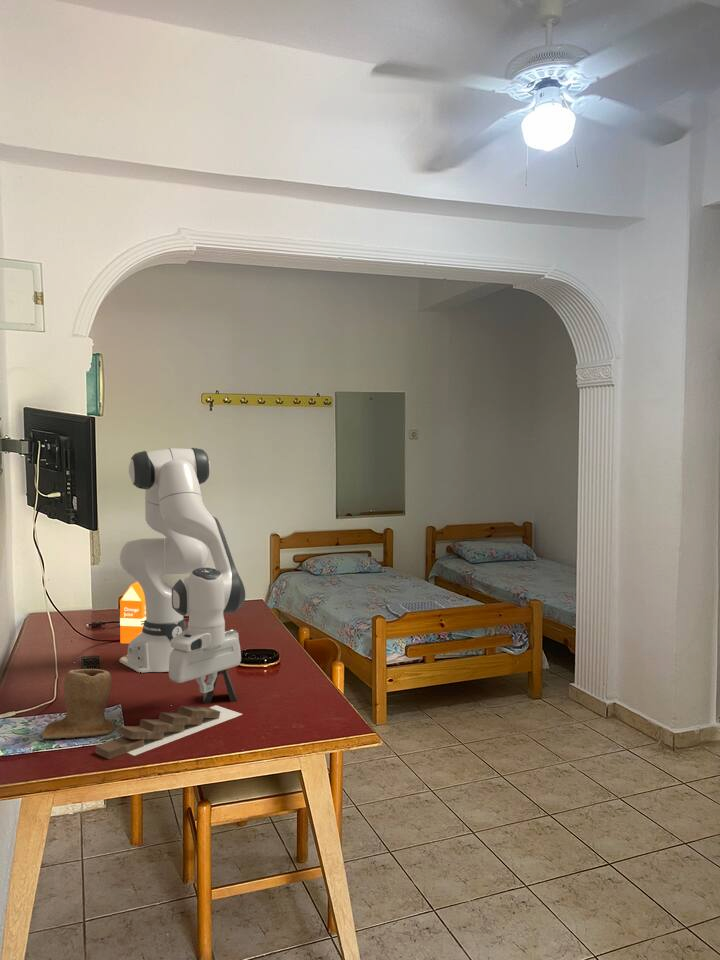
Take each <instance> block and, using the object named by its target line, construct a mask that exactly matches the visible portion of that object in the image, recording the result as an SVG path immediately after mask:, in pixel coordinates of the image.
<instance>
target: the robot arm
mask: <svg viewBox="0 0 720 960" xmlns="http://www.w3.org/2000/svg"><path fill="white" fill-rule="evenodd" d="M209 458H210V457H209V456H208V453H207V452H206V451H205V450H204V449H202V448H197V447H191V448H182V447H181V448H180V447H171V448H166V449H164V448H163V449H156V450H150V451H146V450H143V451H138V452H136V453H134V454H133V455H132V457H131V458H130V462H129V465H128V474H129V476H128V477H129V479H130V480H131V482H132V485H134V486H135V487H136V488H137V489H141V490H145V491H144V508H145V510H144V511H145V512H144V513H145V514H144V516H145V518H144V520H145V521H146V524H147V526H149V528H151V529H152V530H153V531H155V532H157V533H159V534H162V535H163V536H164V537H165V538H164V537H163V538H160V537H159V538H157V537H156V538H139V539H133V540H130V541H127V542H126V543H125V544H123V546H122V548H121V550H120V554H119V561H120V565H121V567H122V569H123V570H124V571H125V573H127V574H128V575H130V576H131V577H133V579H135V581H136V582H138V583H139V584H140V586H141V588H142V590H143V593H144V597H145V605H146V620H144V621H141V622H144V623H142V624H141V625H143V624H144V625H143V629H142V632H141V633H140V634H139V635H138V636H136V637H135V638H134V639H133V640H131V641H130V643H129V644H128V646H127V655H123V656H122V657H120V658H119V663H121V664H123V665H124V666H126V667H127V668H128V667H129V668H130V669H132V670H134V671H136V672H137V673H140V672H141V673H142V674H143V673H163V672H164V673H165V672H168V677H169V679H170V680H171V681H172V682H174V683H178V684H182V683H185V682H189V681H192V680H196V681H195V682H197V684H198V686H199V693H201V694H204V693H206V692H209V691H212V690H213V684H214V682H215V680H216V677H217V672H218V671H221V670H225V669H226V670H228V669H230V668H234V667H238V666H239V665H240V663H241V662H242V652H241V645H240V640H239V639H240V637H239V636H240V635H239V632H238V631H237V630H235V629H233V628H231V629H228V630H226V620H225V616H224V614H234V613H236V612H237V611H238V610H239V609H241V607H242V606H243V604H244V603H245V600H246V588H245V586H244V583H243V580H242V578H241V577H240V575H239V572H238V570H237V568H236V565H235V562H234V559H233V555H232V553H231V550H230V548H229V547H230V546H229V544H228V542H227V539H226V535H225V533H224V531H223V528H222V526H221V523H220V521H219V520H218V518H217V517H215V516H214V515H212V514H211V513H210V512H209V511H208V509H207V508H206V506H205V504H204V499H203V495H202V490H201V486H200V485H201V484H204V483H205V482H206V481H208V479H209V477H210V473H211V462H210V459H209ZM208 549H209V550H208ZM209 552H210V555H211V557H212V561H213V564H214V567H215V568H212V567H206V565H207V563H208V560H209ZM185 574H186V575H187V574H189V576H186V577H185V578H181V579H180V578H179V579H178V580H177V581H176V582H175V583H174V585H172V584H169V583H166V581H164V580H163V578H162V577H163V576H165V575H185ZM184 616H185V617H186V616H187V617H189V618H188V622H187V628H186V619H185V618H184ZM207 676H208V678H207ZM206 678H207V680H206ZM217 678H218V677H217ZM205 680H206V682H205Z"/></svg>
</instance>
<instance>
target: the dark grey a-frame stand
mask: <svg viewBox="0 0 720 960" xmlns="http://www.w3.org/2000/svg"><path fill="white" fill-rule="evenodd" d="M219 675H223V679H224V683H225V687H226V691H227V695H228V698H229V701H230V703H231V702H233V703H234V702H237V701H238V700H237V696H236V693H235V690H234V688H233V687H234V686H233V685H232V682H231V679H230V676H229V674H228V671H227V669H225V670H221V671H218V672H217V677H216V680H215V682H214V684H213V690H212V691H209V692H206V693H202V694H203V695H202V700H203V704H205V705H207V704H211V703H212V699H213V695H214V692H215V688H216V684H217V681H218V677H219Z"/></svg>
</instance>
